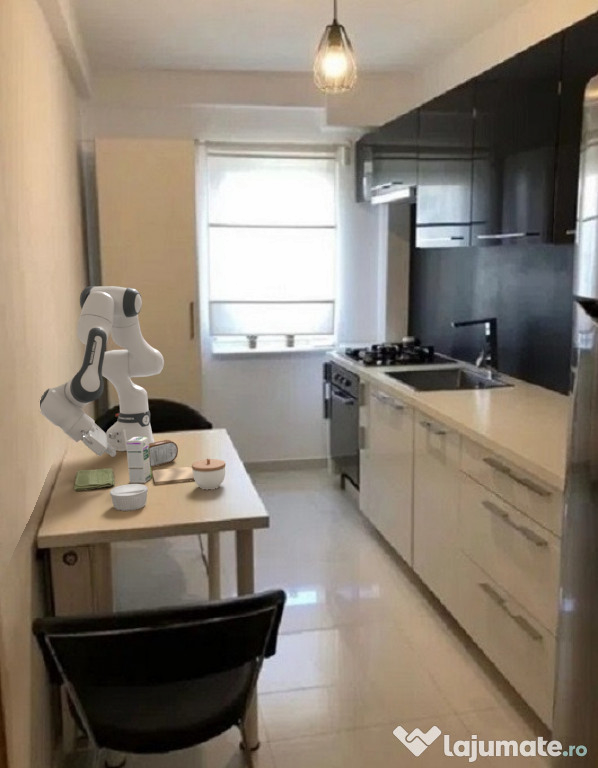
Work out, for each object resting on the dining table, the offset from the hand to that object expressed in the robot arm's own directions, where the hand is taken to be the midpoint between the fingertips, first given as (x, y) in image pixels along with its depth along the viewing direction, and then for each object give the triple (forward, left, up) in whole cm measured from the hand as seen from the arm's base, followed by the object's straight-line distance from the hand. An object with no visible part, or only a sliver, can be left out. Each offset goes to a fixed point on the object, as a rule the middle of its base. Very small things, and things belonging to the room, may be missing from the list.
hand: (115, 454), depth 237 cm
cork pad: (+13, +13, -10) cm, 21 cm away
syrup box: (+5, +5, -10) cm, 13 cm away
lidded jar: (+31, +9, -10) cm, 34 cm away
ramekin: (+20, -16, -10) cm, 28 cm away
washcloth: (-8, -2, -10) cm, 13 cm away
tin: (-2, +23, -10) cm, 26 cm away
